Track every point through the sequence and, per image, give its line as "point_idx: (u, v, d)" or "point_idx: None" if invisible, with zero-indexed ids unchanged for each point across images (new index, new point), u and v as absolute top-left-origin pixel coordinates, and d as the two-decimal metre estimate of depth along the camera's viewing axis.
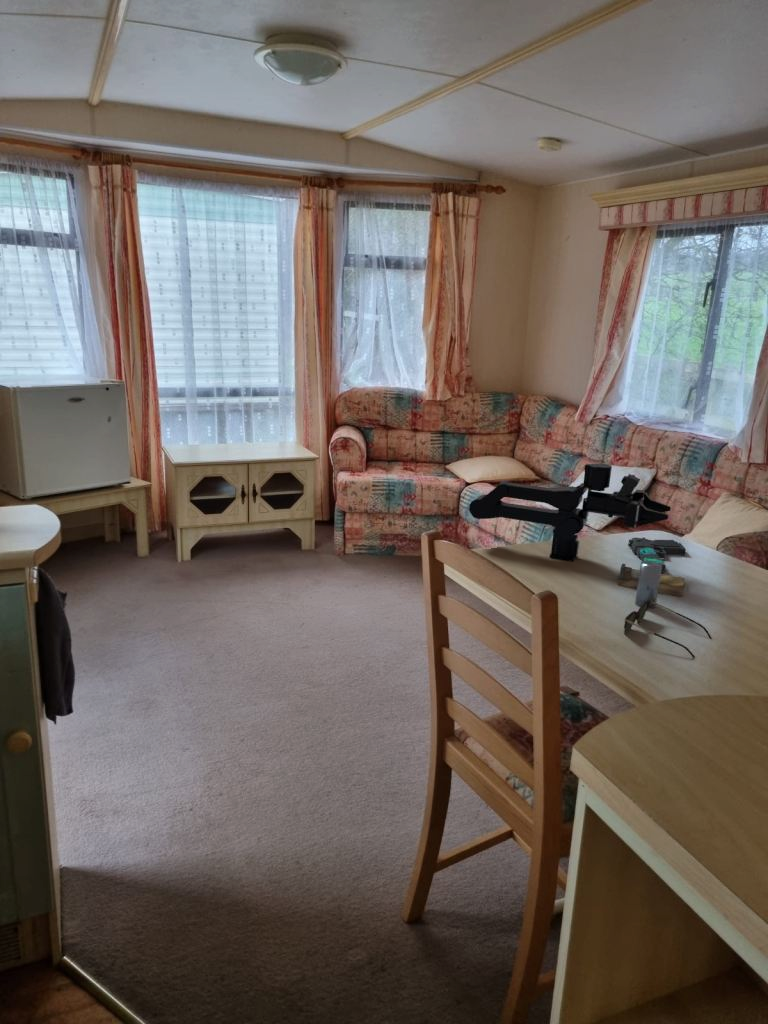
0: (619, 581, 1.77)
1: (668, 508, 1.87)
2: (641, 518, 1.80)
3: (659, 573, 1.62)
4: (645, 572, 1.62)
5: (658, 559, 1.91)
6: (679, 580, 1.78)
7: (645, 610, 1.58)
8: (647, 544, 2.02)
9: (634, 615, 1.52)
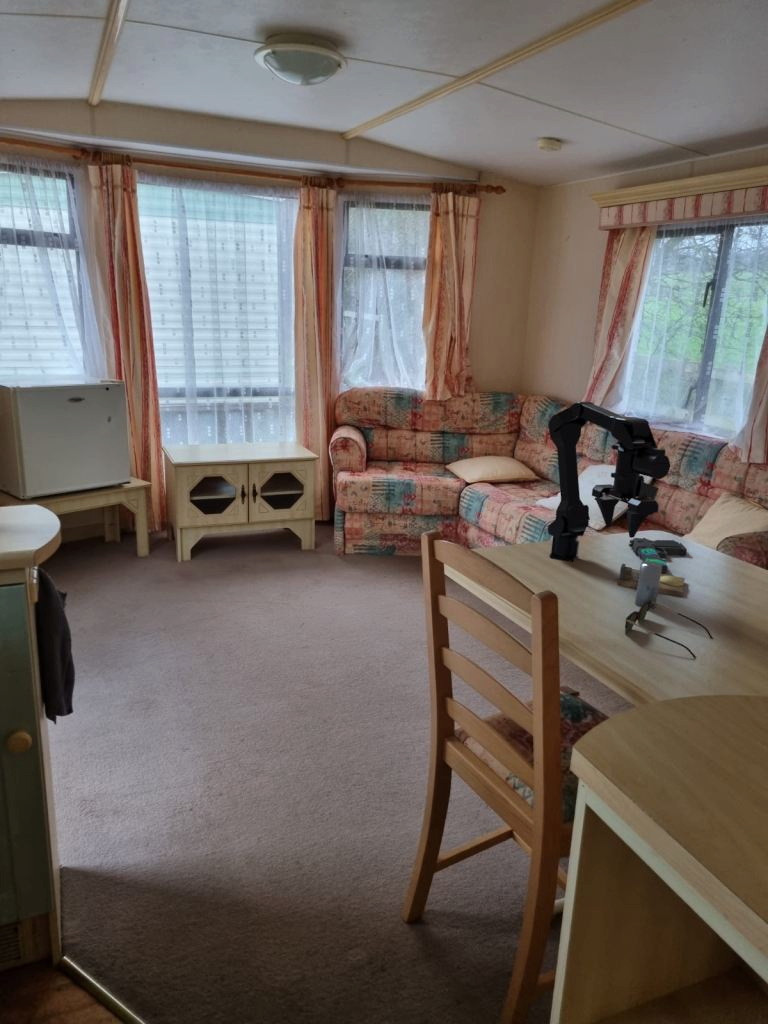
0: (619, 581, 1.77)
1: (609, 525, 1.80)
2: None
3: (659, 573, 1.62)
4: (645, 572, 1.62)
5: (660, 560, 1.90)
6: (679, 580, 1.78)
7: (646, 610, 1.58)
8: (648, 544, 2.02)
9: (635, 615, 1.52)
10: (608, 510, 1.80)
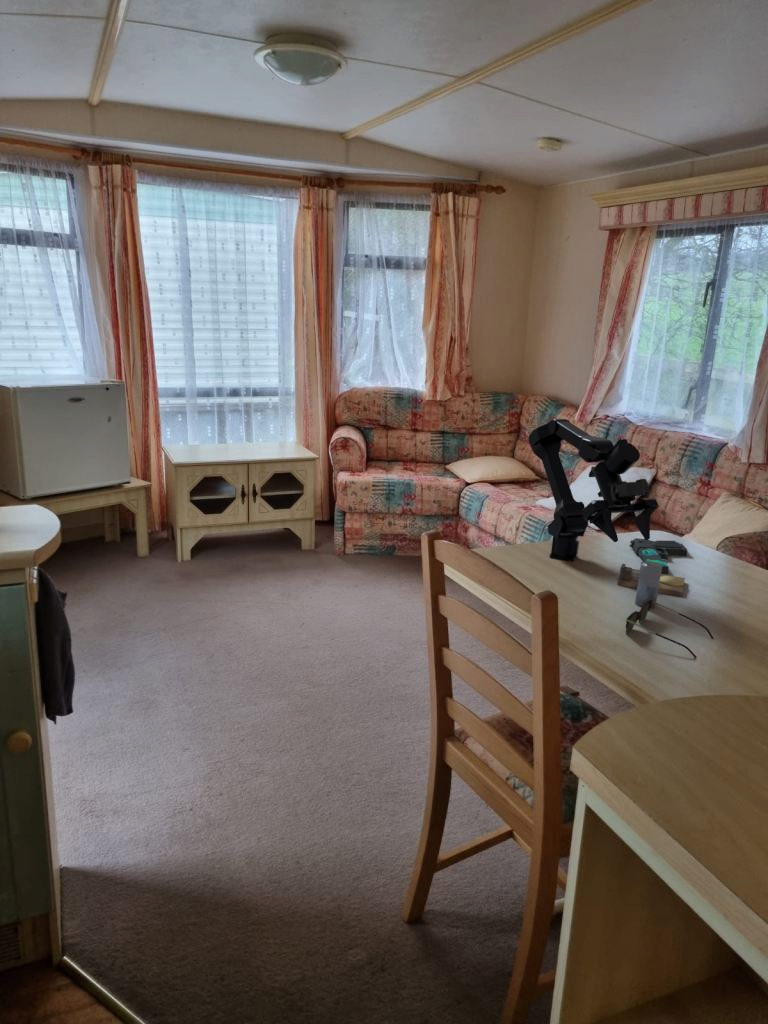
0: (619, 581, 1.77)
1: (646, 537, 1.71)
2: (600, 520, 1.71)
3: (659, 573, 1.62)
4: (645, 572, 1.62)
5: (661, 560, 1.90)
6: (679, 580, 1.78)
7: (647, 610, 1.58)
8: (649, 545, 2.01)
9: (636, 615, 1.52)
10: (641, 524, 1.73)
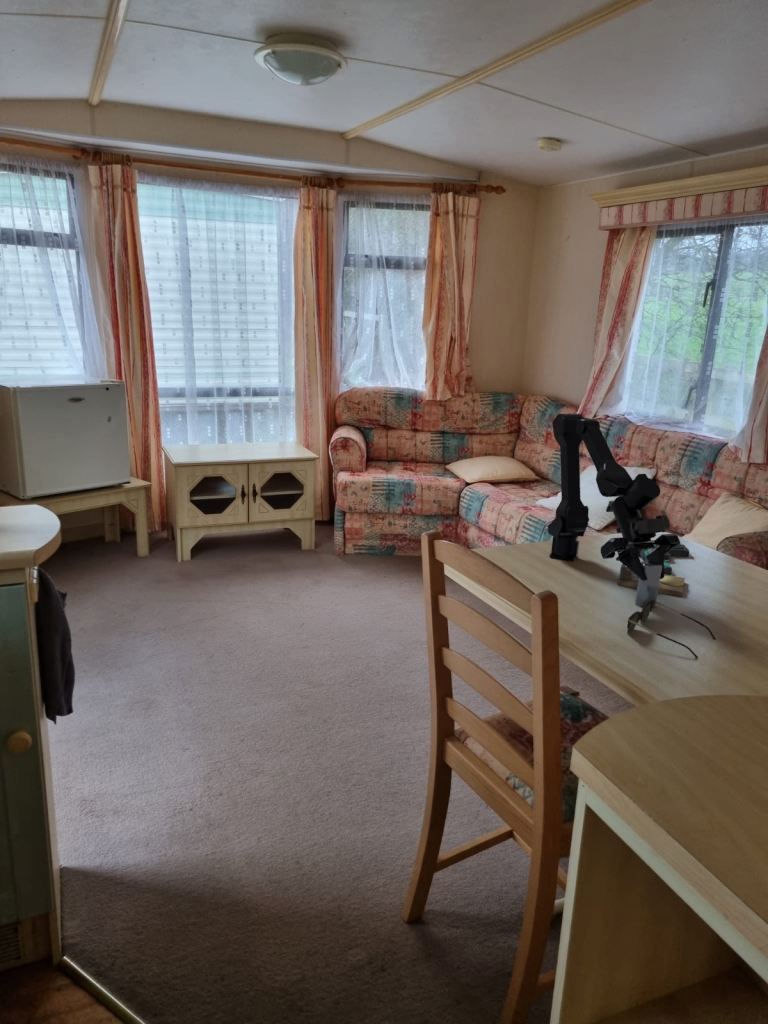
0: (619, 581, 1.77)
1: (661, 576, 1.64)
2: (627, 558, 1.65)
3: (659, 573, 1.62)
4: (645, 571, 1.62)
5: (664, 561, 1.89)
6: (679, 580, 1.78)
7: (649, 610, 1.57)
8: None
9: (637, 615, 1.52)
10: None
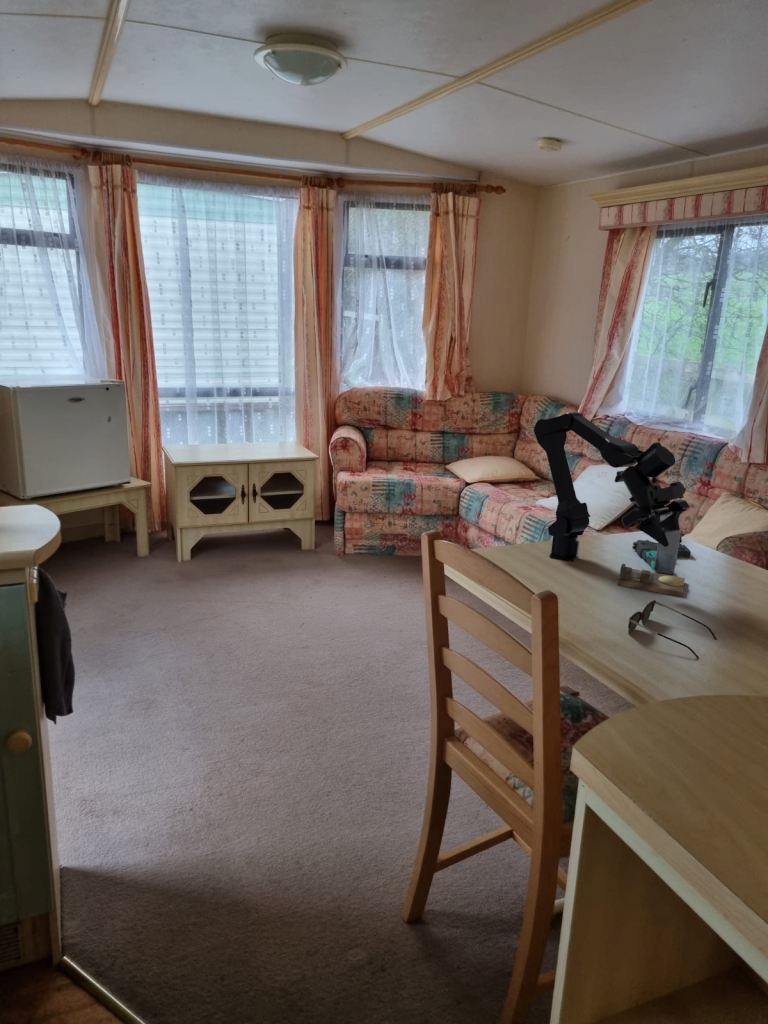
0: (619, 581, 1.77)
1: None
2: (647, 526, 1.69)
3: (679, 538, 1.67)
4: (667, 538, 1.66)
5: None
6: (679, 580, 1.78)
7: (650, 610, 1.57)
8: (652, 547, 2.00)
9: (639, 615, 1.52)
10: None
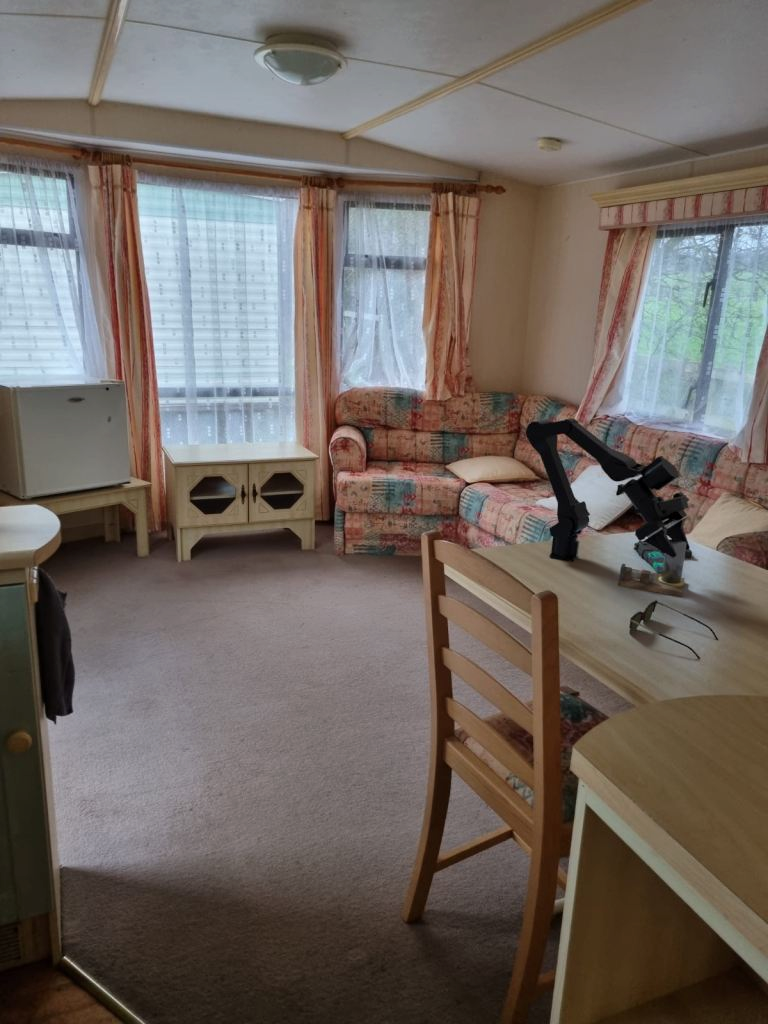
0: (619, 581, 1.77)
1: (686, 547, 1.78)
2: (654, 538, 1.73)
3: (685, 549, 1.75)
4: (676, 550, 1.73)
5: None
6: None
7: (652, 611, 1.57)
8: (654, 547, 1.99)
9: (640, 615, 1.52)
10: (676, 535, 1.79)
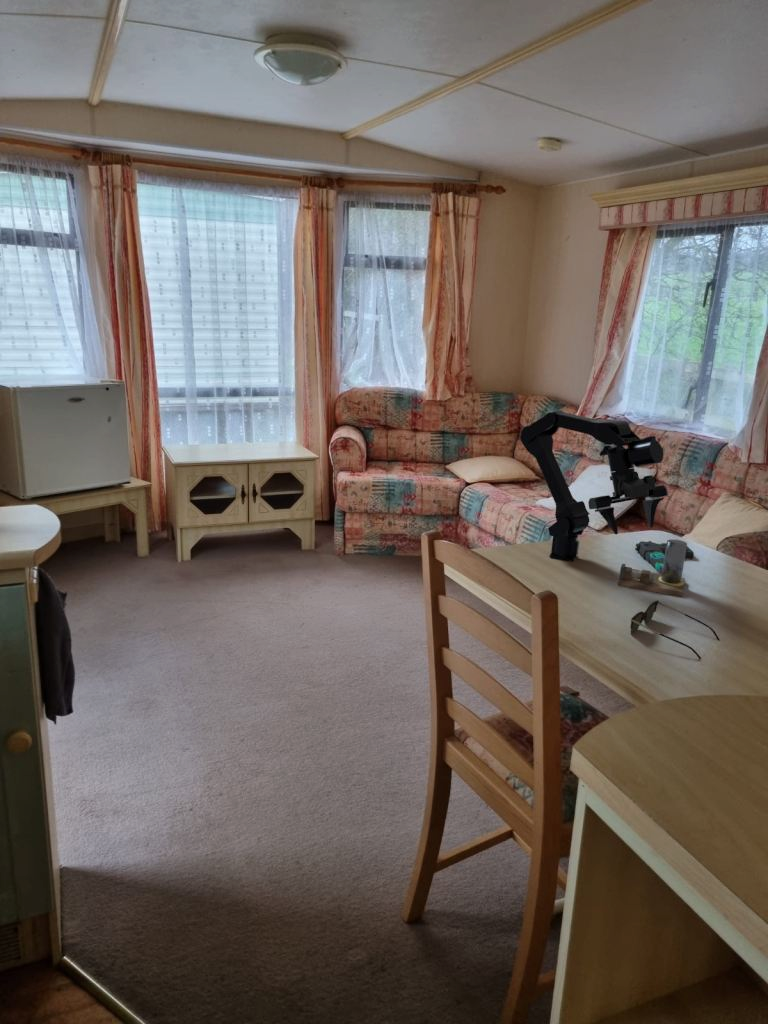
0: (619, 581, 1.77)
1: (650, 525, 1.80)
2: (605, 511, 1.80)
3: None
4: (676, 550, 1.73)
5: None
6: None
7: (653, 611, 1.57)
8: (656, 548, 1.99)
9: (641, 615, 1.52)
10: (647, 510, 1.80)
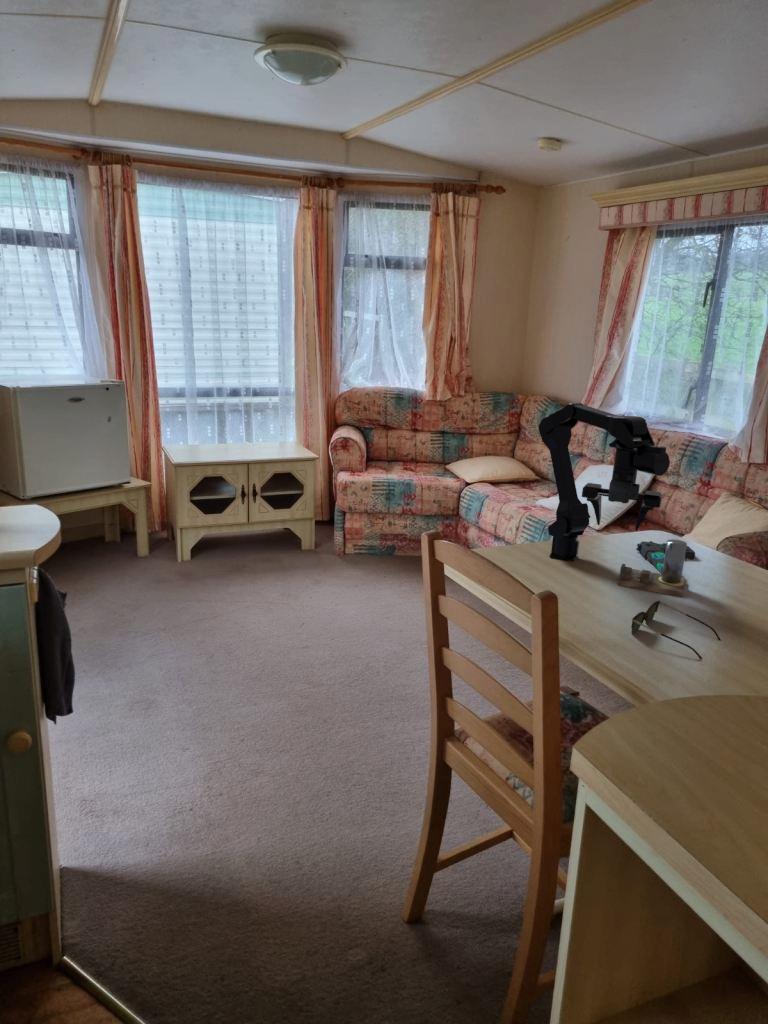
0: (619, 581, 1.77)
1: None
2: None
3: None
4: (676, 550, 1.74)
5: None
6: None
7: (654, 611, 1.57)
8: (657, 548, 1.99)
9: (642, 615, 1.52)
10: None
